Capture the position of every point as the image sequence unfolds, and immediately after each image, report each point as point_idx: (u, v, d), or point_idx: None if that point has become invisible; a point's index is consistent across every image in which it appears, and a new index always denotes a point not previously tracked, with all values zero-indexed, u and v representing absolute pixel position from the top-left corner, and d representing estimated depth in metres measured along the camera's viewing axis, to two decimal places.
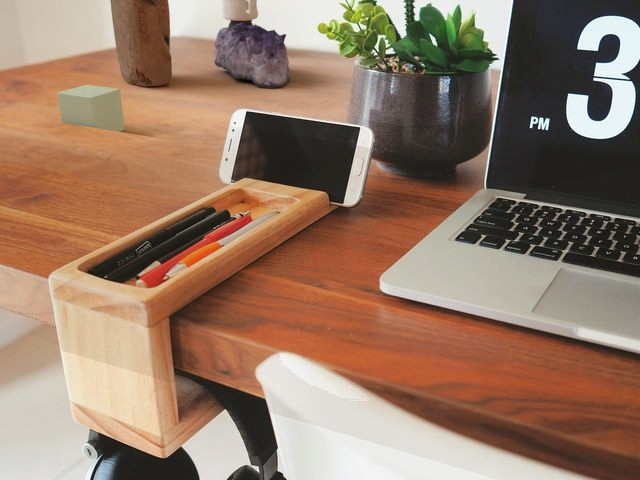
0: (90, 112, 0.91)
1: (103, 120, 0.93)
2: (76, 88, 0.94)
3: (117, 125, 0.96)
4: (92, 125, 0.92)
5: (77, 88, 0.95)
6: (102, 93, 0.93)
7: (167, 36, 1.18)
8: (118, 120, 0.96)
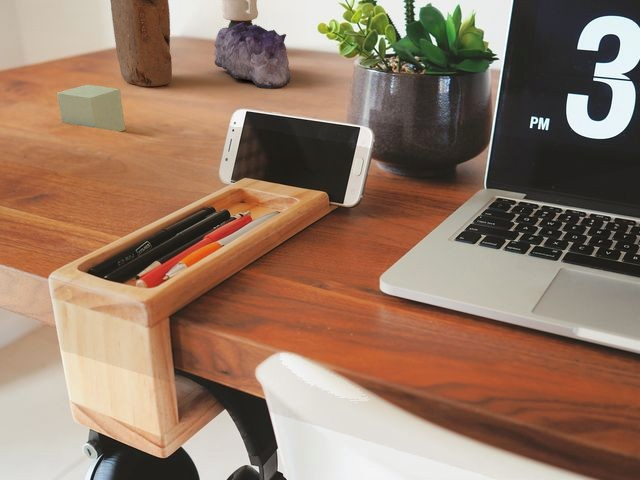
0: (90, 112, 0.91)
1: (103, 120, 0.93)
2: (76, 88, 0.94)
3: (117, 125, 0.96)
4: (92, 125, 0.92)
5: (77, 88, 0.95)
6: (102, 93, 0.93)
7: (167, 36, 1.18)
8: (118, 120, 0.96)
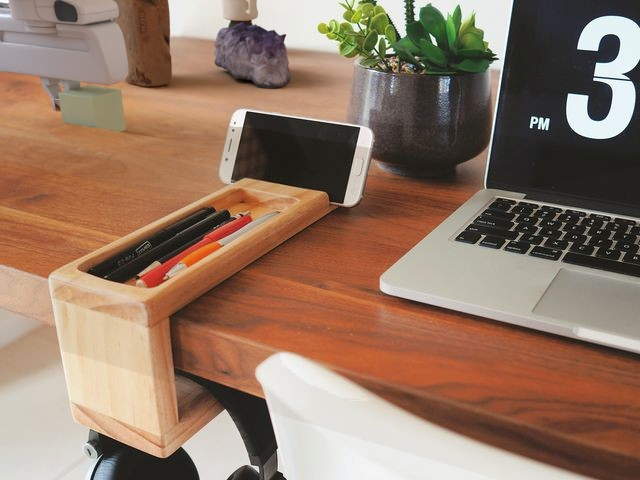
0: (91, 113, 0.91)
1: (104, 120, 0.93)
2: (77, 88, 0.94)
3: (118, 126, 0.96)
4: (93, 125, 0.92)
5: (78, 88, 0.95)
6: (103, 93, 0.93)
7: (167, 36, 1.18)
8: (119, 121, 0.96)
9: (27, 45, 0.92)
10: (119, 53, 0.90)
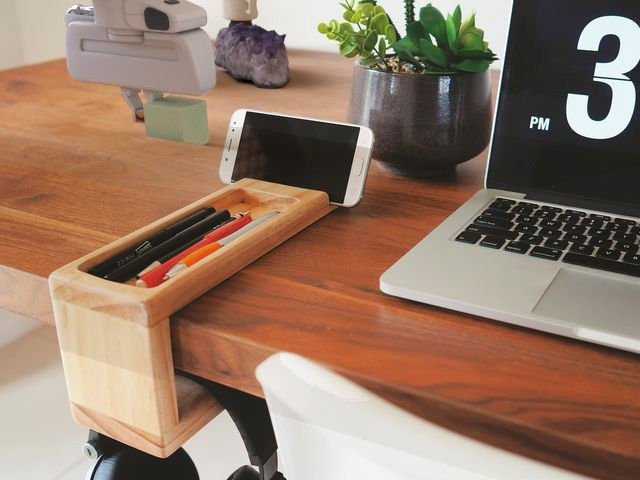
0: (178, 125, 0.87)
1: (190, 133, 0.89)
2: (161, 99, 0.90)
3: (202, 138, 0.92)
4: (180, 138, 0.88)
5: (162, 99, 0.90)
6: (190, 105, 0.88)
7: None
8: (204, 133, 0.92)
9: (109, 54, 0.88)
10: (208, 62, 0.86)
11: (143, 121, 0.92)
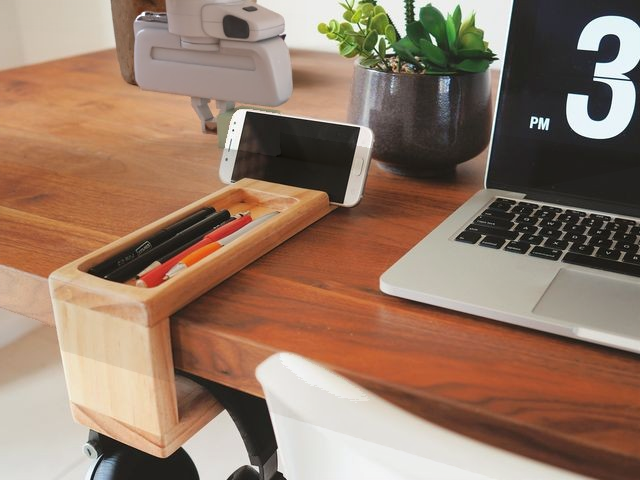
0: None
1: None
2: (233, 110, 0.87)
3: None
4: None
5: (234, 110, 0.87)
6: None
7: None
8: None
9: (181, 63, 0.85)
10: (286, 72, 0.82)
11: (214, 132, 0.88)
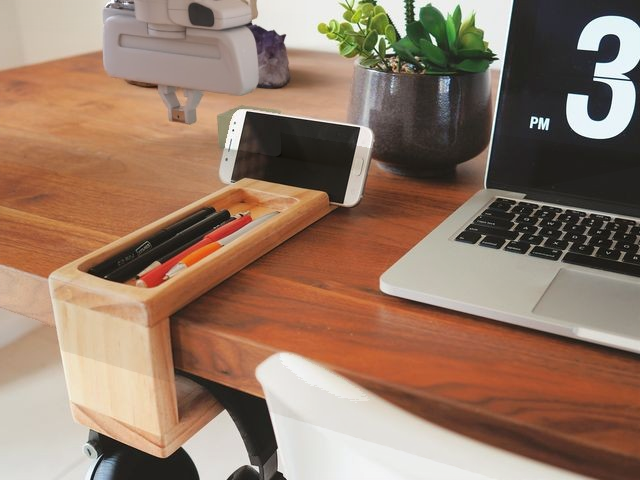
0: None
1: None
2: (234, 110, 0.87)
3: None
4: None
5: (234, 110, 0.87)
6: None
7: None
8: None
9: (149, 50, 0.85)
10: (252, 61, 0.83)
11: (181, 121, 0.88)
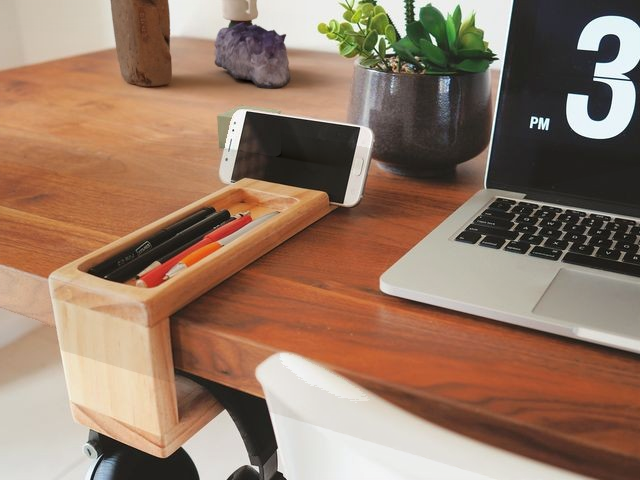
0: None
1: None
2: (234, 110, 0.87)
3: None
4: None
5: (234, 110, 0.87)
6: None
7: (167, 36, 1.18)
8: None
9: None
10: None
11: None
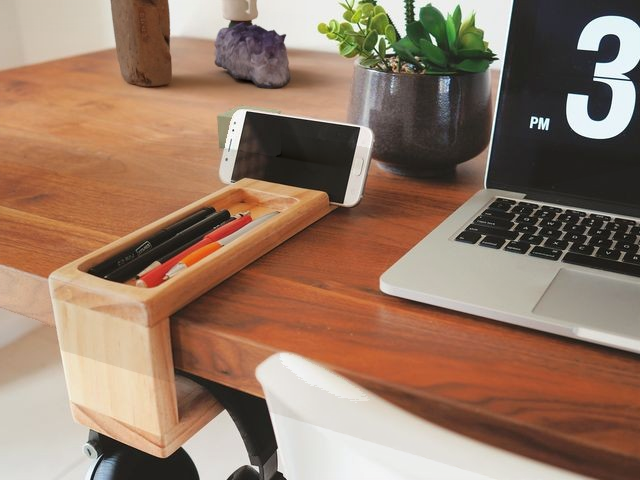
0: None
1: None
2: (234, 110, 0.87)
3: None
4: None
5: (234, 110, 0.87)
6: None
7: (167, 36, 1.18)
8: None
9: None
10: None
11: None
